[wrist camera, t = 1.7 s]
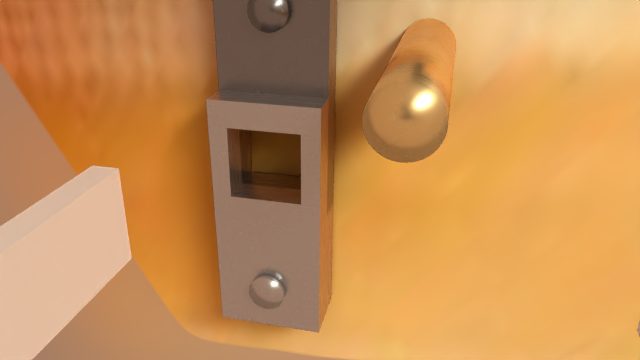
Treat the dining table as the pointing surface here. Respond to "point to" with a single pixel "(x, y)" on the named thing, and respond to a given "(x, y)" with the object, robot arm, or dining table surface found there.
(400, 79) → the brass pin
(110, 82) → the dining table surface
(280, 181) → the riveted square sleeve
